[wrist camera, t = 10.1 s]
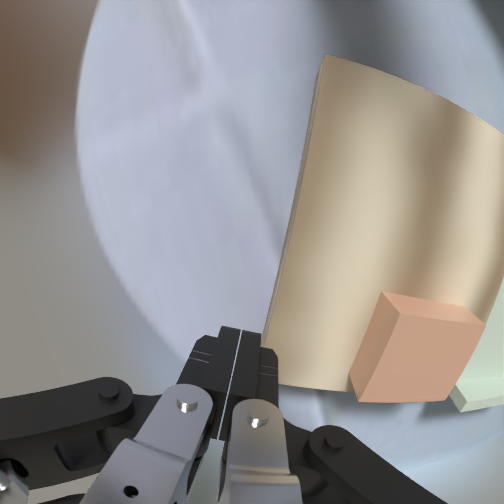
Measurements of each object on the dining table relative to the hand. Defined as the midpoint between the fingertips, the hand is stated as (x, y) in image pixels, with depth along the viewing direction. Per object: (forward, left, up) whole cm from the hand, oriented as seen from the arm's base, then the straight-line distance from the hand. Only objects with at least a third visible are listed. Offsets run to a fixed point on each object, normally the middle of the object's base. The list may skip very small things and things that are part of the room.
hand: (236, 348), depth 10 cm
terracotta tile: (-9, 0, -3) cm, 10 cm away
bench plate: (-8, -4, -6) cm, 11 cm away
